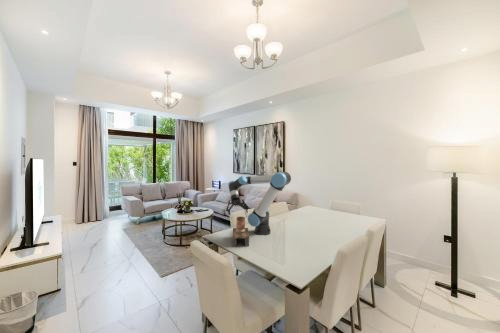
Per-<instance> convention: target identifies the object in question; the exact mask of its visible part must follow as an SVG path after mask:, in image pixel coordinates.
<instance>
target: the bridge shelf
mask: <svg viewBox="0 0 500 333" xmlns="http://www.w3.org/2000/svg"><path fill="white" fill-rule="evenodd" d="M237 239H244V245H245V247H249V246H250V233H249V228H248V227H245V232H244V233H237V232H236V227H232V247H237Z"/></svg>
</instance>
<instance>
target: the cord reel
mask: <svg viewBox="0 0 500 333" xmlns="http://www.w3.org/2000/svg"><path fill="white" fill-rule="evenodd" d="M235 228H236V232H237V233H244V232H245V228H246V216H236V227H235Z"/></svg>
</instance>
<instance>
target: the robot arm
mask: <svg viewBox="0 0 500 333" xmlns="http://www.w3.org/2000/svg"><path fill="white" fill-rule="evenodd" d="M290 182H292V176H291V174H290V173H289V172H287V171H281V172H280V171H278V172H276V173H274V174H263V175H252V176H244V175H241V176H239V177H238V178H237V179H236V180H231V181H229V182H228V191H229V195H230V200H228V201H227V203H228V204H227V206H226V209H225V211H226V212H227V213H228V215H229V218H230V219H232V218H233V216H232V215H233V214H232V209H233V207H235V206H239V207H241V208H242V209H244V215H245V218H247V222H248V224H249V225H250V226H251V227H254V233H255V235H258V236H268V235H270V234H271V227H270V209H269V208H270V207H271V205H272V204H273V202H274V200H275V199H276V198H277V195H278V194H279V193H280V192H282V191H283V189H284V188H285V187H286V186H288V185H289V184H290ZM261 184H265V185H266V184H269V187H268V190H266V192H265V193H264V196H263V198H262V199H261V200H260V202H259V203H258V206H257V207H254V209H253V211H252V212H251V213H249V214H248V210H249V208H250V206H248V204H246V202H245V201H244V199H240V195H239V191H238V190H239V188H241V187H242V186H243V187H244V186H246V185H261ZM230 204H231V206H230ZM229 206H230V207H229Z"/></svg>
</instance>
